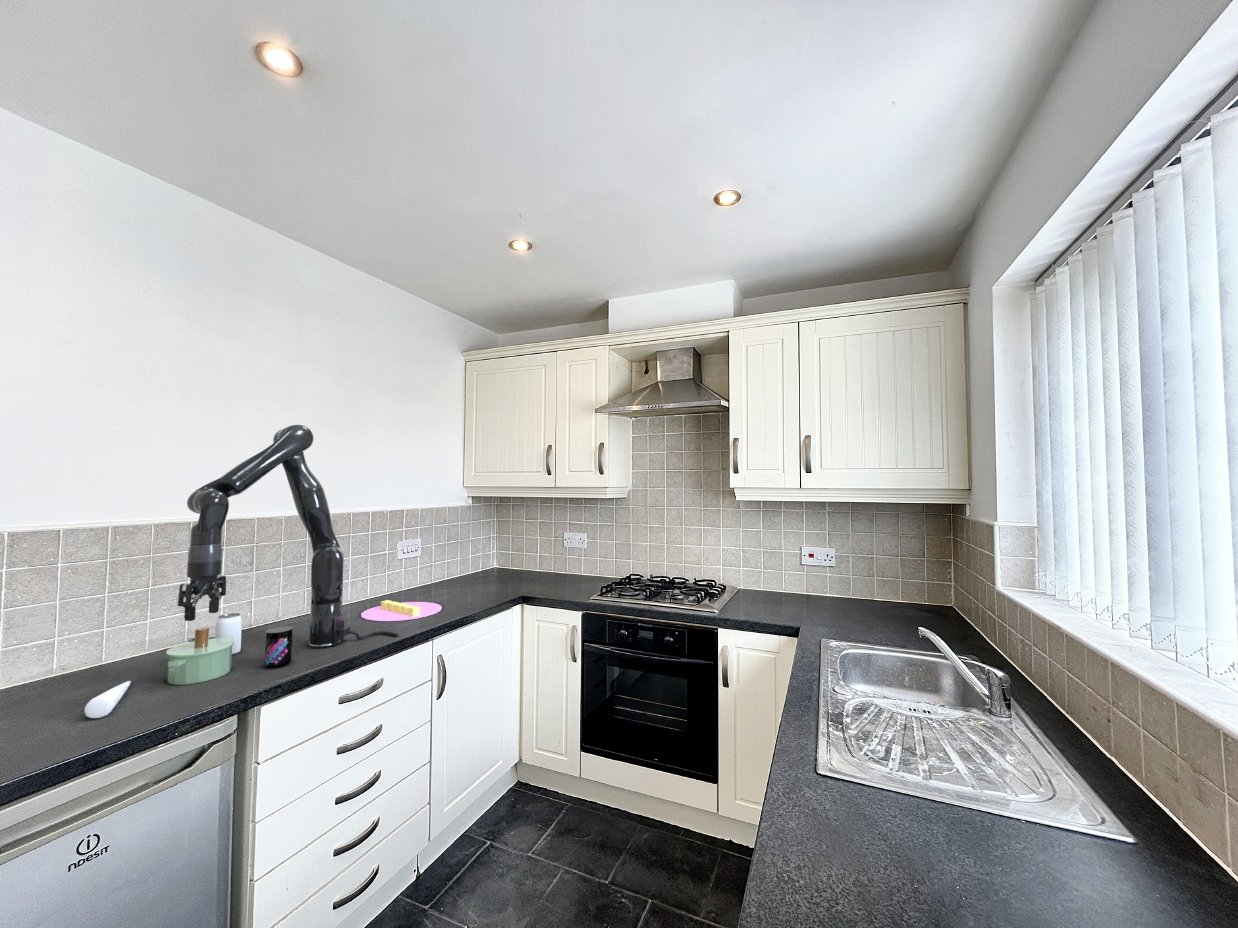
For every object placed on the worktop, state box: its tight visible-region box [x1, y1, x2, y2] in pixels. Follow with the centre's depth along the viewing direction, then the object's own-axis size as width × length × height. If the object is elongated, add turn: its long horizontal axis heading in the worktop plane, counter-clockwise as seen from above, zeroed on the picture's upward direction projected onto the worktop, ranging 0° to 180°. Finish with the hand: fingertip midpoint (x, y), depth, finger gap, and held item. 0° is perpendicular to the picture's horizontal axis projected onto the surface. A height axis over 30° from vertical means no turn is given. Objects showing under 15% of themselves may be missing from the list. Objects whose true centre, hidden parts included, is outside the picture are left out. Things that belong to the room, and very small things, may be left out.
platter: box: [360, 599, 443, 622], centre depth 209 cm, size 32×32×3 cm
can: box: [214, 612, 243, 656], centre depth 156 cm, size 6×6×12 cm
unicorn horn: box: [83, 680, 132, 719], centre depth 122 cm, size 5×24×5 cm, turn 29°
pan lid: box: [165, 626, 234, 657], centre depth 139 cm, size 15×15×6 cm
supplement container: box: [264, 625, 294, 669], centre depth 146 cm, size 7×7×10 cm
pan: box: [166, 646, 233, 686], centre depth 138 cm, size 14×19×8 cm
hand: (202, 616), depth 139 cm, fingers open, 8 cm apart
